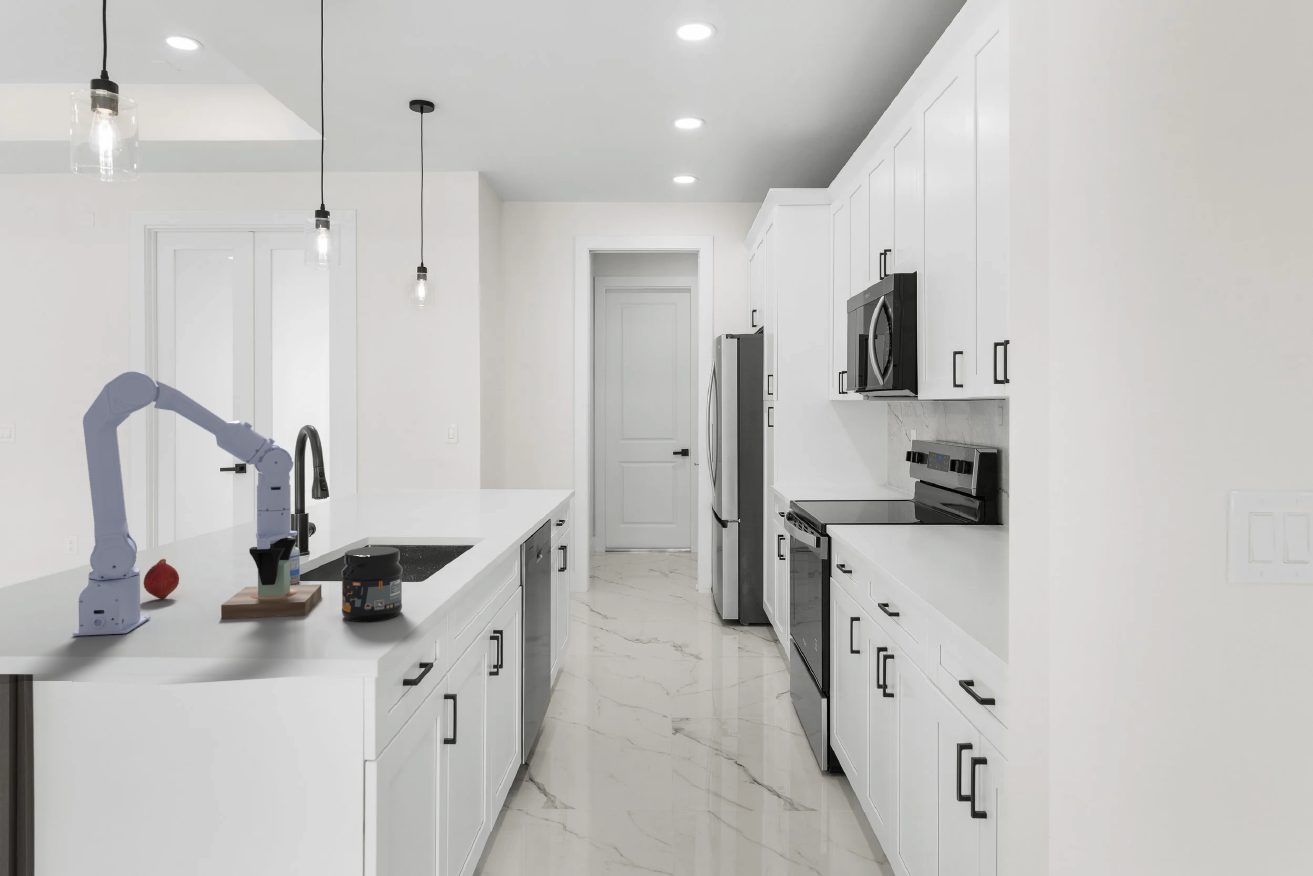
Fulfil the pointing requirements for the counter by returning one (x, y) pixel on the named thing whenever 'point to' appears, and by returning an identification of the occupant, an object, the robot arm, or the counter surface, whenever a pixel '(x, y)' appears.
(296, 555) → the pill bottle
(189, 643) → the counter surface
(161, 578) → the onion
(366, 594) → the supplement container
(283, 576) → the sage block
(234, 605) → the walnut base
